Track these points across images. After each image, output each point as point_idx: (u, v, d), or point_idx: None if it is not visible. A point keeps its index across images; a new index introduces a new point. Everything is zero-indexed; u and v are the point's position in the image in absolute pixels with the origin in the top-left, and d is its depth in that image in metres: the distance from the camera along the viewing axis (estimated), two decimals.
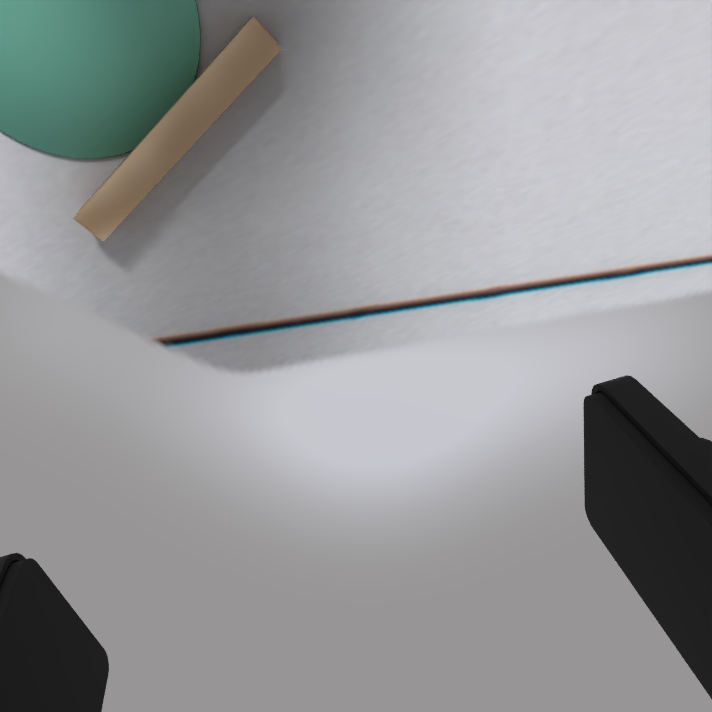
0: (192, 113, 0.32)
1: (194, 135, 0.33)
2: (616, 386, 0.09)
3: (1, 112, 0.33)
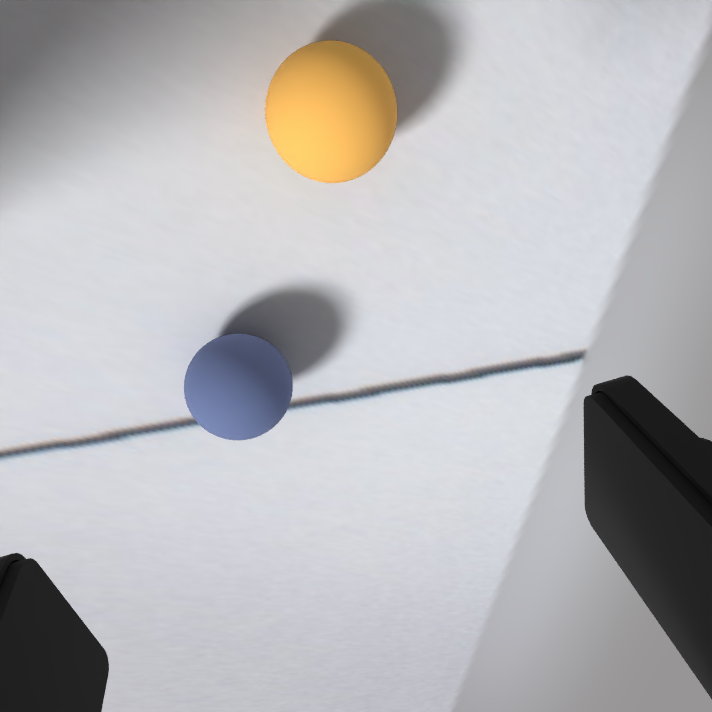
0: None
1: None
2: (616, 386, 0.09)
3: None
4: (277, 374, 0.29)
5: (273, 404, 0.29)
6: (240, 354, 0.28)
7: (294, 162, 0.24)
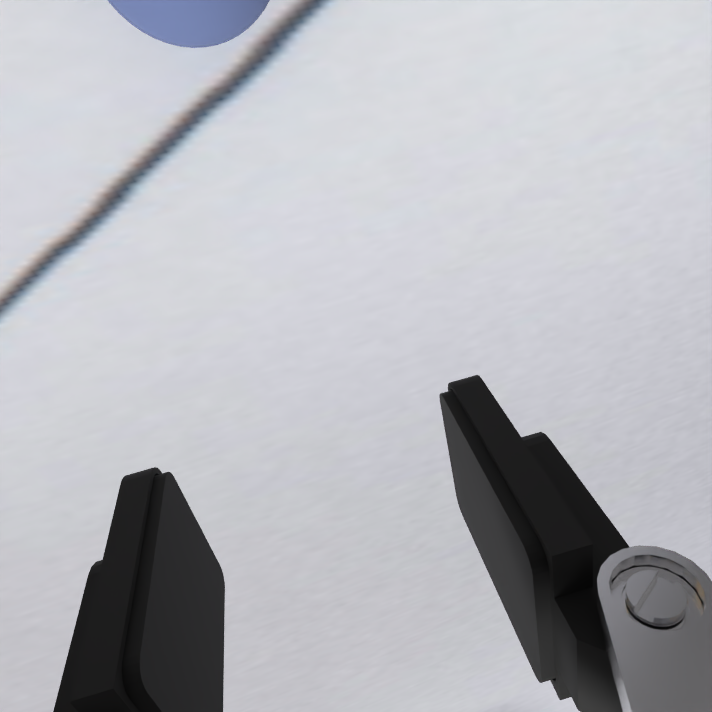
0: None
1: None
2: (463, 384, 0.10)
3: None
4: None
5: None
6: None
7: None
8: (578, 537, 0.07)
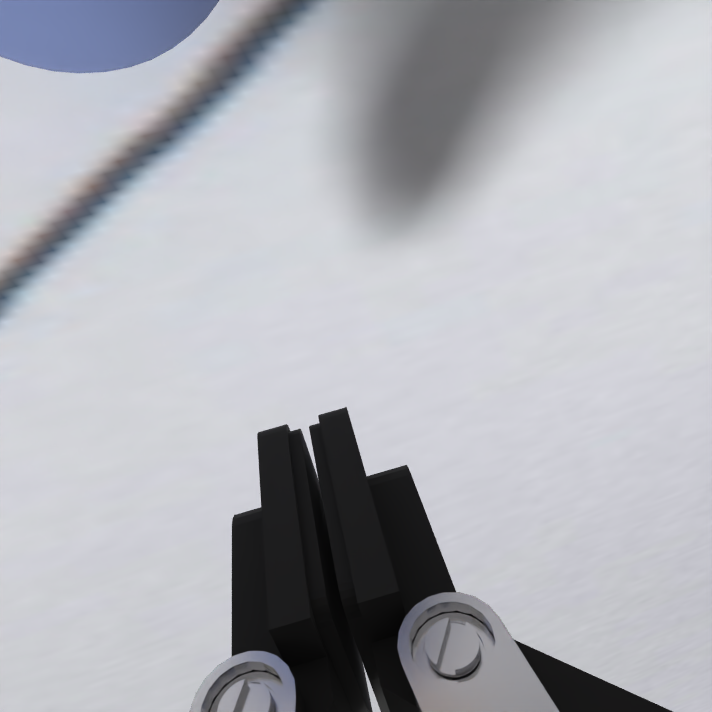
0: None
1: None
2: (329, 418, 0.10)
3: None
4: None
5: None
6: None
7: None
8: (386, 584, 0.07)
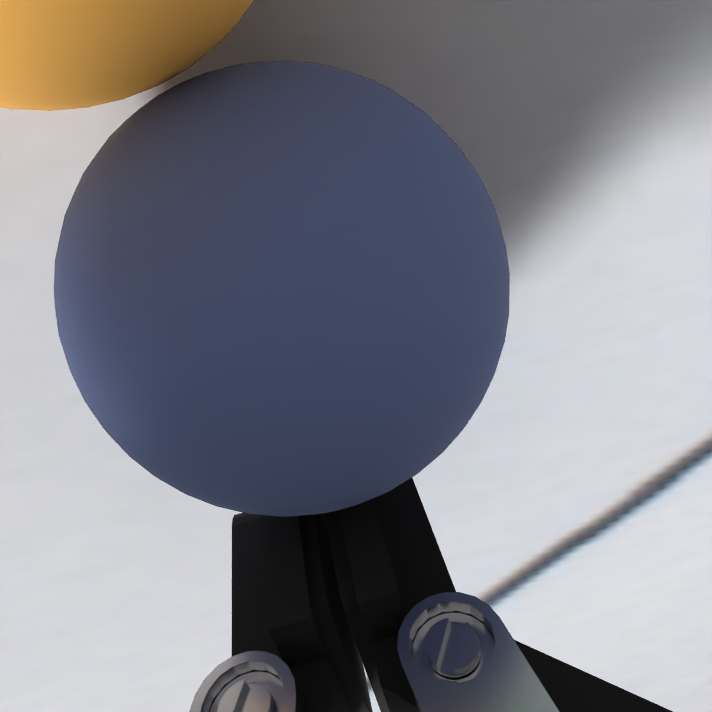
0: None
1: None
2: None
3: None
4: None
5: None
6: None
7: None
8: (386, 584, 0.07)
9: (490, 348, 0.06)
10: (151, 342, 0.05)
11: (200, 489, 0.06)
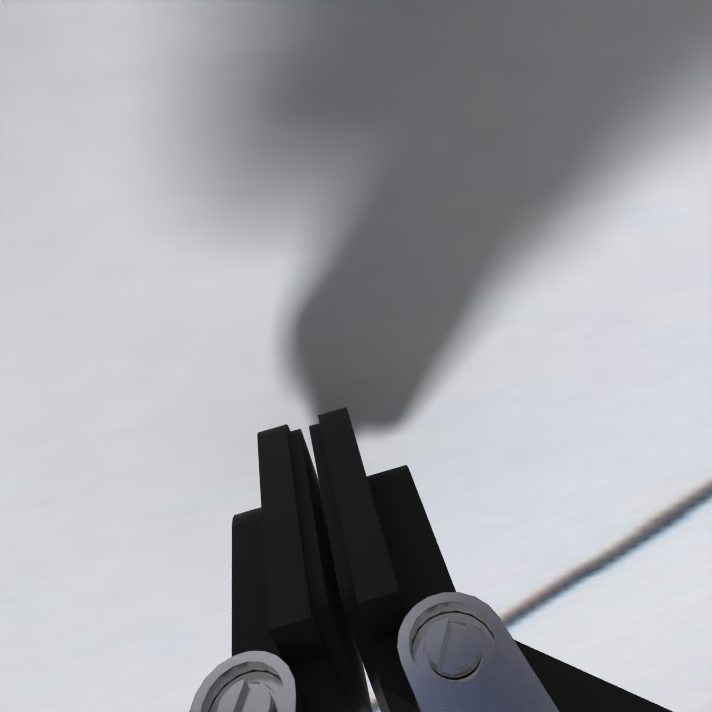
0: None
1: None
2: (328, 418, 0.10)
3: None
4: None
5: None
6: None
7: None
8: (386, 584, 0.07)
9: None
10: None
11: None
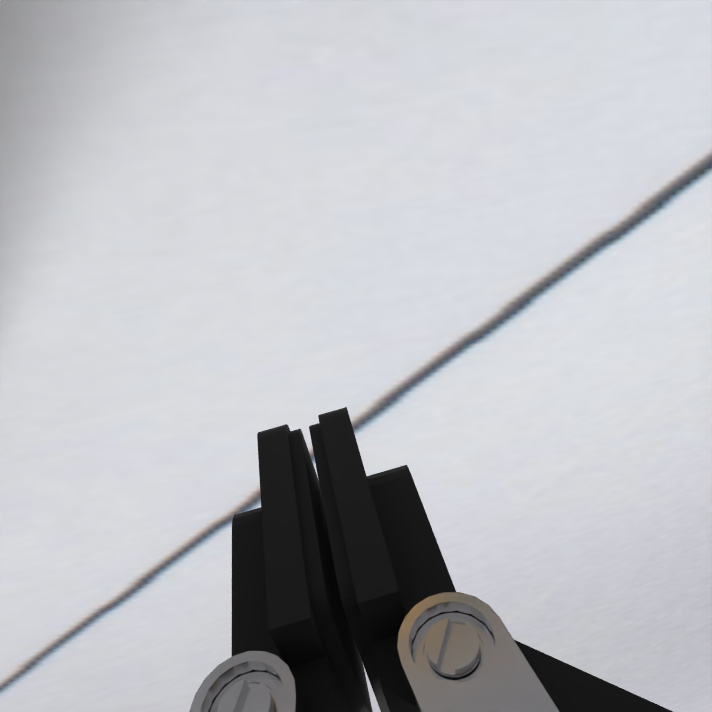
0: None
1: None
2: (328, 418, 0.10)
3: None
4: None
5: None
6: None
7: None
8: (386, 584, 0.07)
9: None
10: None
11: None
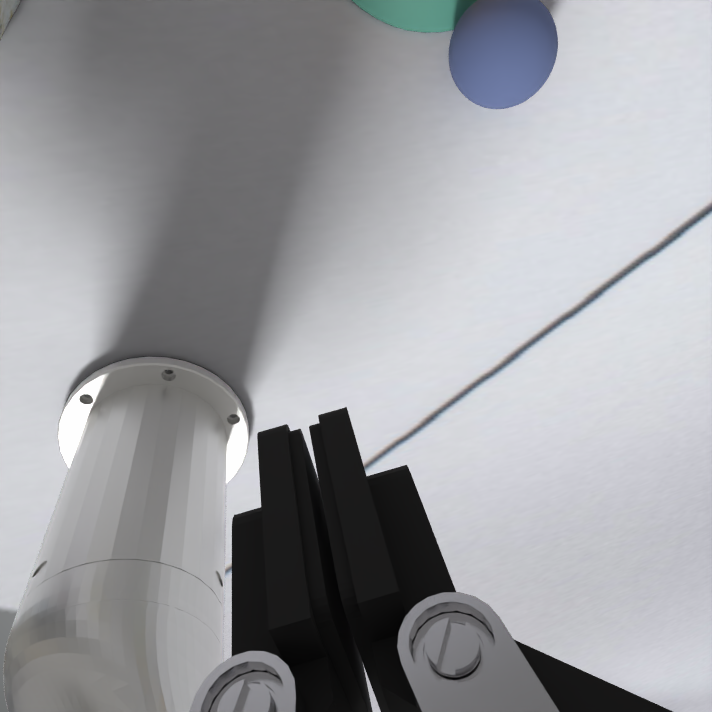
0: None
1: None
2: (329, 418, 0.10)
3: None
4: (543, 33, 0.28)
5: (547, 64, 0.29)
6: (503, 34, 0.28)
7: None
8: (386, 584, 0.07)
9: None
10: None
11: None
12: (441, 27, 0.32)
